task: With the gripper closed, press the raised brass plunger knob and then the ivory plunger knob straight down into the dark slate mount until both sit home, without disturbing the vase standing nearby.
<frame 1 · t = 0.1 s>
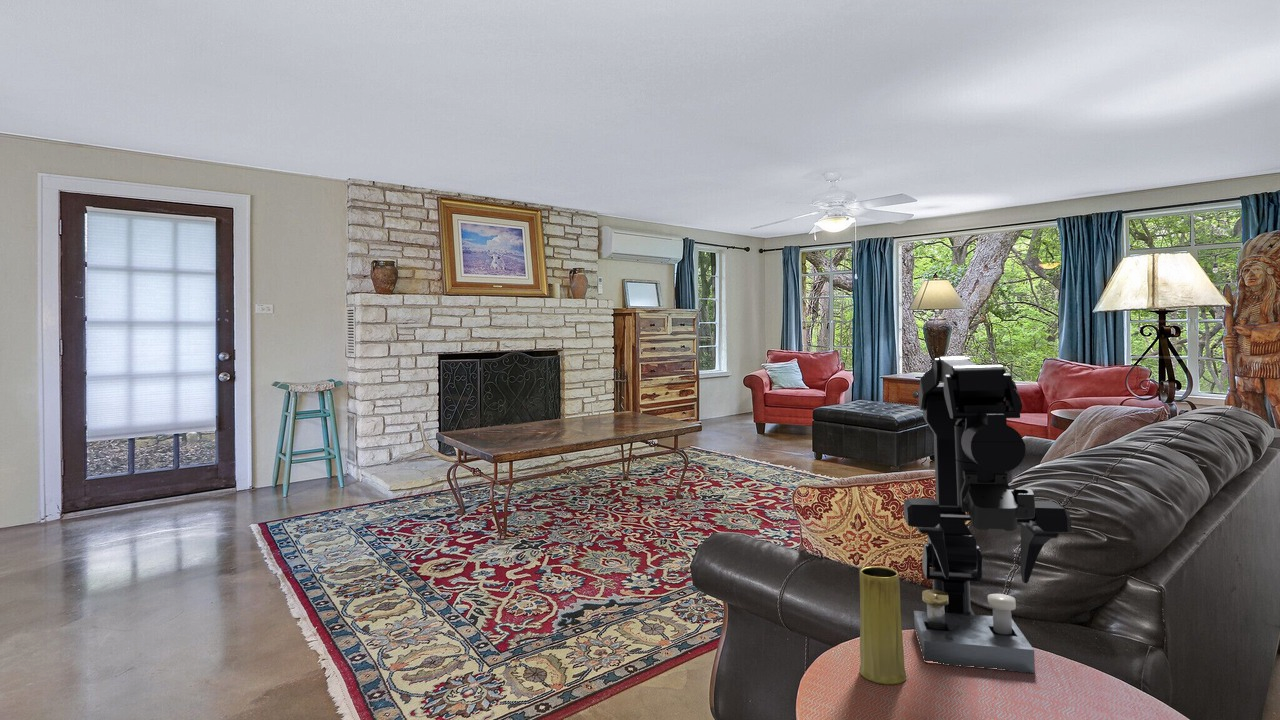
hand: (985, 580, 84), 15 cm above the table, fingers open, 9 cm apart
mount: (970, 650, 96), on the table
vase: (883, 676, 90), on the table
knob brass: (935, 609, 98), point 6 cm above the table, slide at 3.0 cm
knob ivory: (1002, 614, 95), point 6 cm above the table, slide at 3.0 cm
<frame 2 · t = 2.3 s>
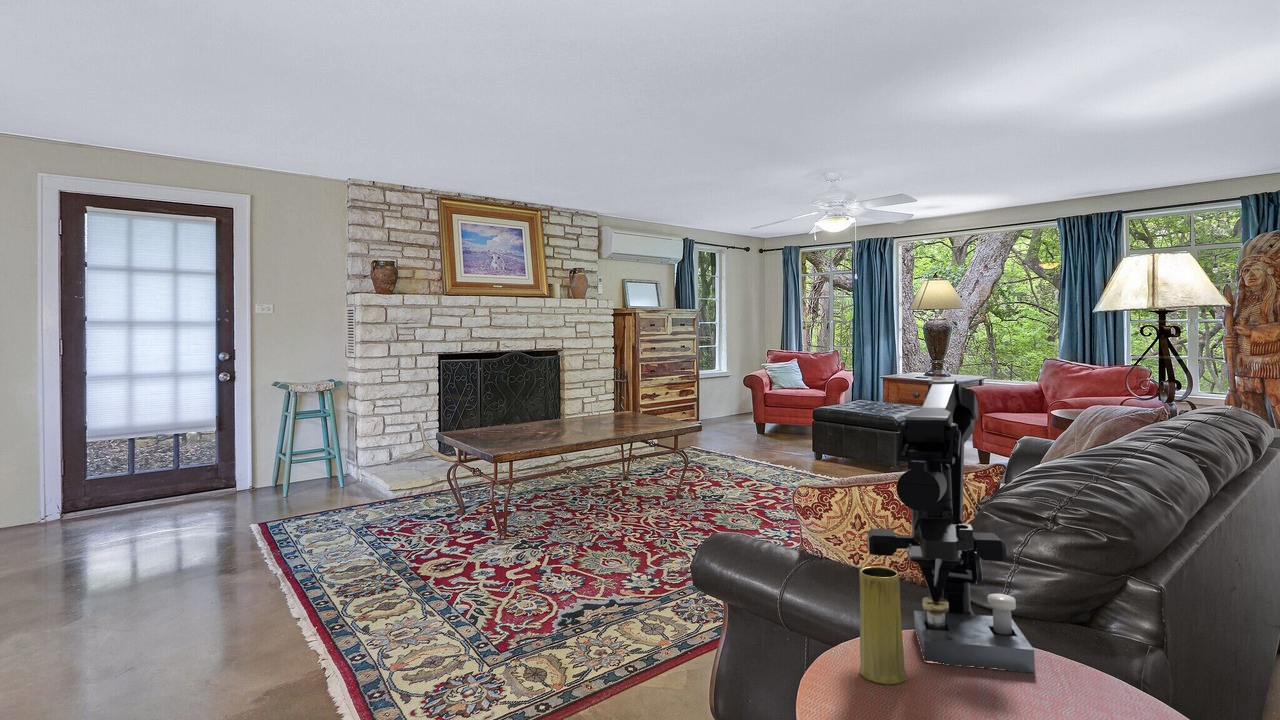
hand: (935, 600, 98), 7 cm above the table, fingers closed, pressing on knob brass
knob brass: (936, 617, 98), point 5 cm above the table, slide at 1.9 cm, touching gripper
everything else where it was.
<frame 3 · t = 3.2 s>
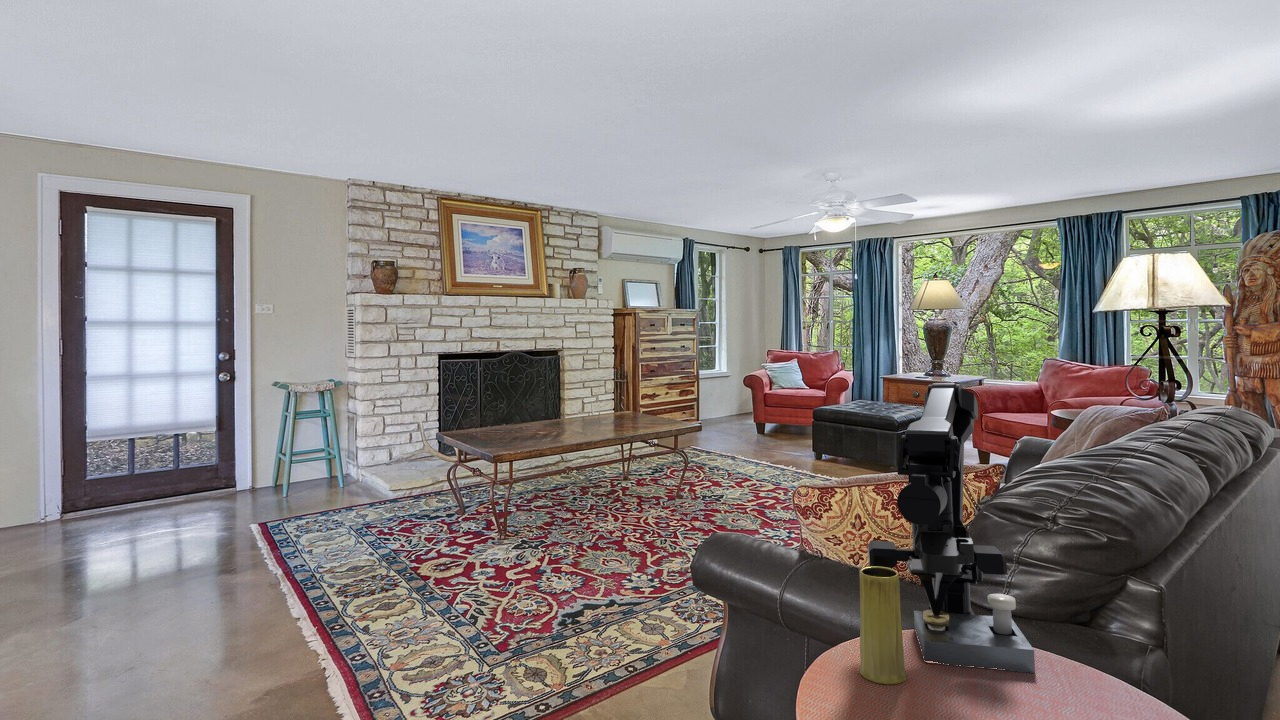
hand: (936, 613, 98), 5 cm above the table, fingers closed
knob brass: (936, 630, 98), point 3 cm above the table, slide at -0.1 cm
everything else where it was.
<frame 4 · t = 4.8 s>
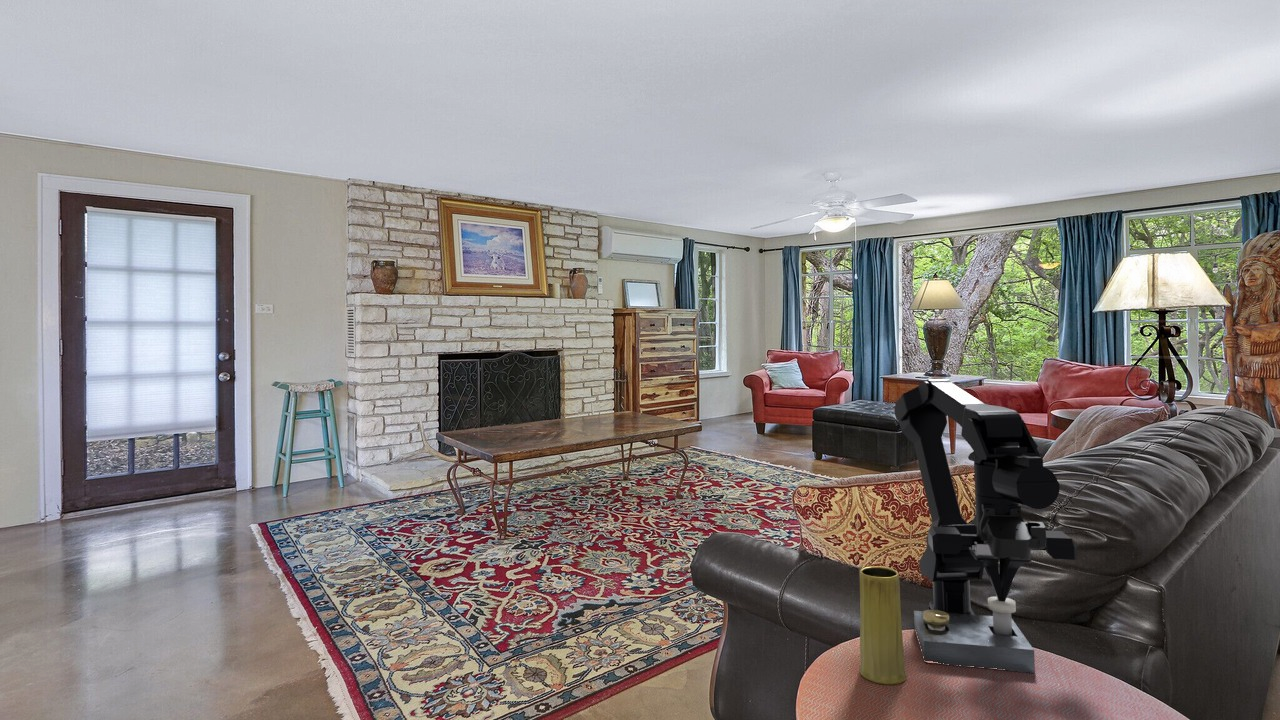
hand: (1001, 600, 95), 8 cm above the table, fingers closed, pressing on knob ivory
knob ivory: (1002, 617, 95), point 5 cm above the table, slide at 2.6 cm, touching gripper
everything else where it was.
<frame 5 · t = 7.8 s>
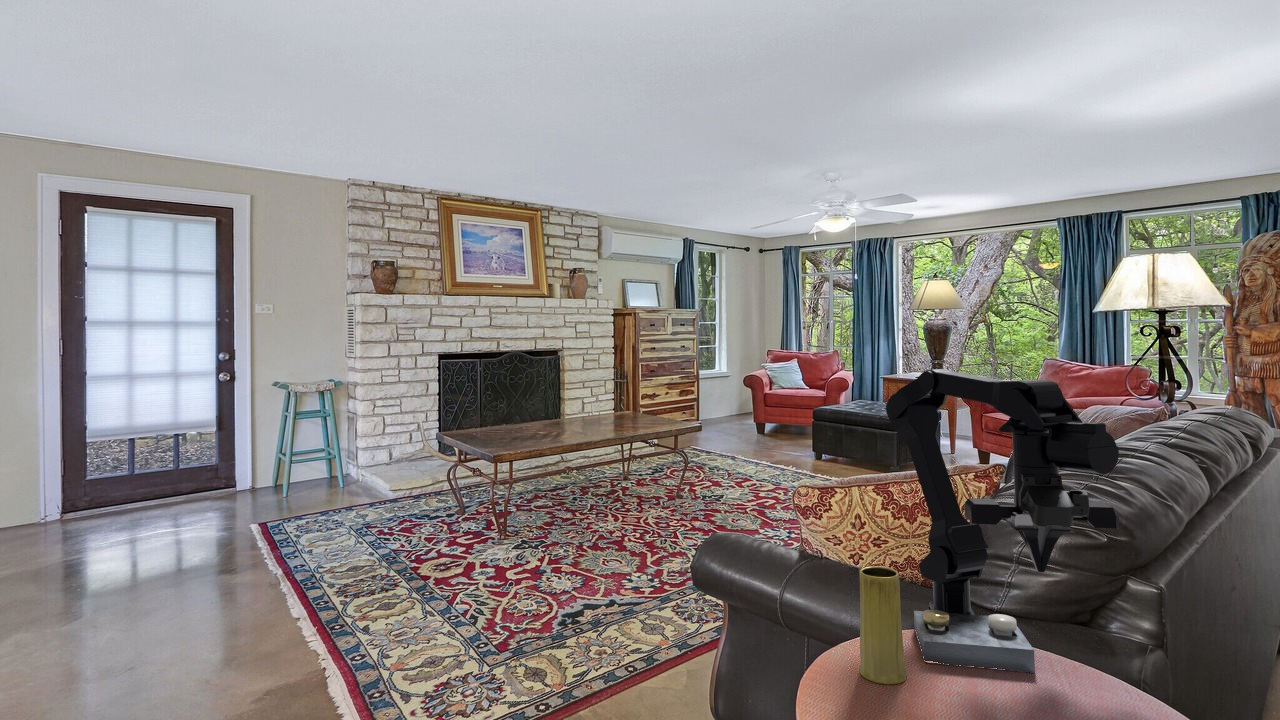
hand: (1040, 571, 95), 12 cm above the table, fingers closed
knob ivory: (1002, 635, 95), point 3 cm above the table, slide at -0.1 cm
everything else where it was.
at the end: knob brass slide at -0.1 cm; knob ivory slide at -0.1 cm; vase tilted 0° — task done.
